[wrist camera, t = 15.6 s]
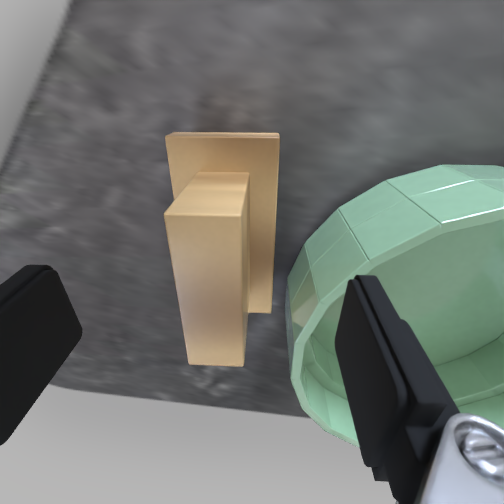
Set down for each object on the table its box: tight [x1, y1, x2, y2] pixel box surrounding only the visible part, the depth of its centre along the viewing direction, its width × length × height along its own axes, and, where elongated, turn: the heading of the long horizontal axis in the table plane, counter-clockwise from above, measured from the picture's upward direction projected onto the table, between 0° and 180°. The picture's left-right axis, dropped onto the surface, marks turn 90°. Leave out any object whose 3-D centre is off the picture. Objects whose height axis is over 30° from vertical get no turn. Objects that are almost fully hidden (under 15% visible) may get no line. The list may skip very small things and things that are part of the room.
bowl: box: [285, 165, 504, 447], centre depth 16 cm, size 17×17×6 cm
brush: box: [164, 132, 280, 367], centre depth 13 cm, size 10×5×8 cm, turn 0°
